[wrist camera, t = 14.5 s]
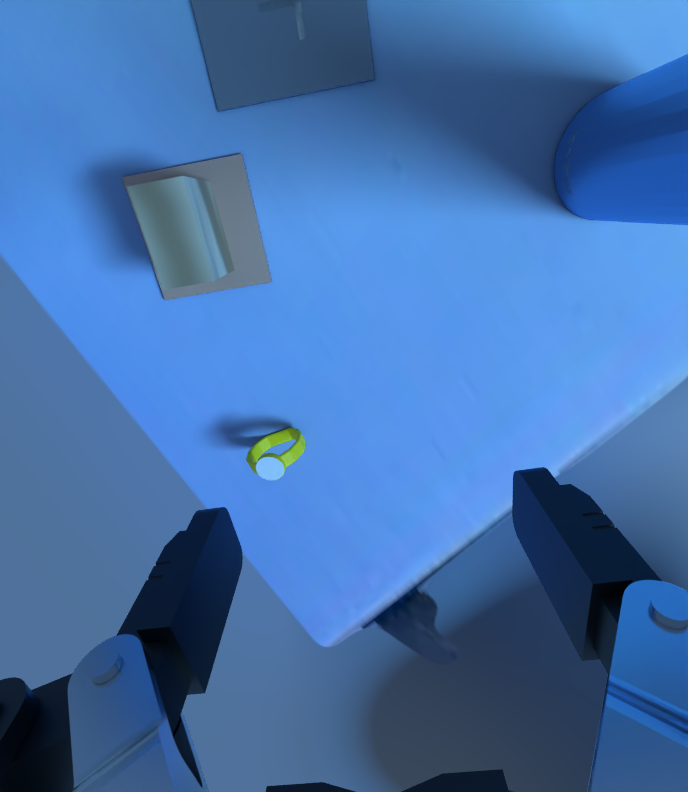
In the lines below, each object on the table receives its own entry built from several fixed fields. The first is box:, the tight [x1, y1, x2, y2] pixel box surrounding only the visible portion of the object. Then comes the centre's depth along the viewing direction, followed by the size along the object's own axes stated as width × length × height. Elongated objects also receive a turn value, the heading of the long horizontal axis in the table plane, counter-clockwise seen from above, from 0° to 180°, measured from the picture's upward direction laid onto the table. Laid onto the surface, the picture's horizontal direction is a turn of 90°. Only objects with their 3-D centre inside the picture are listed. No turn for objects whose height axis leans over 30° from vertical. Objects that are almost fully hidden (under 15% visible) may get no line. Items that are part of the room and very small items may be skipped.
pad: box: [122, 154, 272, 300], centre depth 34 cm, size 10×10×1 cm
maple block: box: [127, 176, 234, 290], centre depth 31 cm, size 4×7×6 cm, turn 9°
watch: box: [246, 428, 306, 480], centre depth 40 cm, size 6×3×6 cm, turn 112°
